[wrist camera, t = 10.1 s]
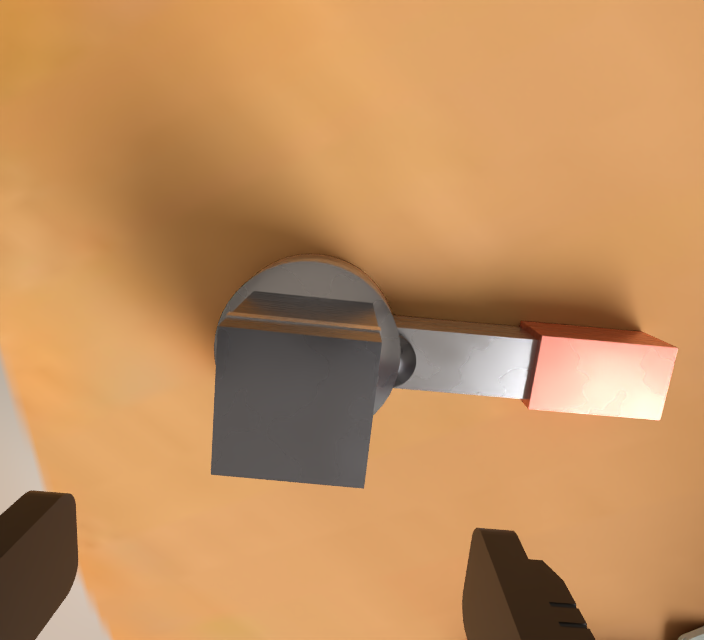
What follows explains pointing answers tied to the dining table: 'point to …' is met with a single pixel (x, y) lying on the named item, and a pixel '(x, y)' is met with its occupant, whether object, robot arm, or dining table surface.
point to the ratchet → (489, 350)
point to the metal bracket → (693, 635)
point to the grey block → (295, 389)
